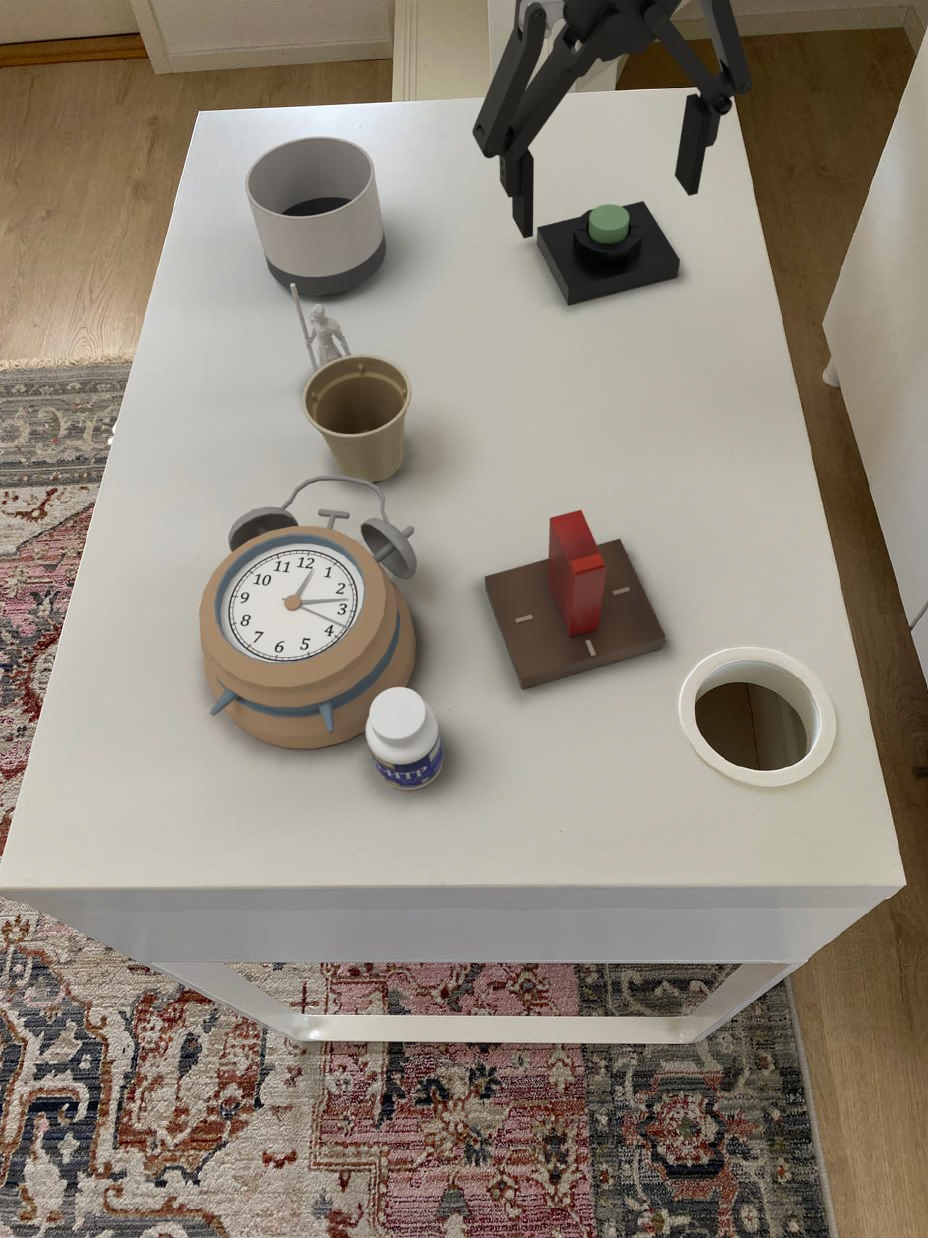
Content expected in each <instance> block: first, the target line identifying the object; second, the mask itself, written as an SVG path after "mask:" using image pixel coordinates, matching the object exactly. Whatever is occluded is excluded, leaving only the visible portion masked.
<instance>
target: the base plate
mask: <svg viewBox="0 0 928 1238" xmlns="http://www.w3.org/2000/svg"><path fill="white" fill-rule="evenodd" d="M597 547H598V549H599V551H600V554H601V556H602V558H603V561H604V563H605V565H606V567H607V568H606V576H605V584H604V592H603V599H602V607H601V615H600V623H599V629H597V630H593V631H590V632H586V633H583V634H579V635H576V636H572V637H569V635H568V633H567V630H566V627H565V625H564V622H563V620H562V617H561V615H560V612H559V610H558V607H557V605H556V602H555V599H554V597H553V594H552V592H551V589H550V587H549V584H548V560H549V558H546V559H541V560H538V561H535V562H532V563H527V564H523V565H521V566H520V565H519V566H517V567H513V568H509V569H506V570H503V571H499V572H496V573H492V574H489V575H485V576H484V586H485V587H484V588H485V592H486V594H487V597H488V600H489V602H490V606H491V608H492V611H493V615H494V617H495V619H496V623H497V625H498V627H499V630H500V634H501V636H502V639H503V641H504V644H505V647H506V650H507V653H508V655H509V658H510V661H511V664H512V667H513V669H514V672H515V674H516V677H517V680H518V683H519V686H520V688H521V690H524V689H529V688H531V687H534V686H540V685H542V684H545V683H548V682H552V681H555V680H559V679H562V678H567V677H569V676H572V675H576V674H579V673H582V672H583V673H584V672H586V671H590V670H594V669H596V668H599V667H604V666H607V665H609V664H613V663H617V662H620V661H623V660H627V659H630V658H634V657H637V656H641V655H644V654H647V653H648V654H649V653H651V652H655V651H658V650H662V649H663V648H664V644H665V640H666V635H665V632H664V630H663V628H662V626H661V624H660V622H659V620H658V618H657V615H656V612H655V611H654V609H653V606H652V604H651V601H650V599H649V597H648V596H647V593H646V591H645V588H644V587H643V584H642V582H641V580H640V578H639V576H638V575H637V572H636V570H635V568H634V566H633V563H632V561H631V559H630V557H629V555H628V552H627V551H626V548H625V545H624V544H623V542H622V540H621V538H617V539H613V540H609V541H605V542H603V543H599V544H597Z"/></svg>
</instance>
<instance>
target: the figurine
mask: <svg viewBox="0 0 928 1238" xmlns="http://www.w3.org/2000/svg"><path fill="white" fill-rule="evenodd" d="M290 288H291V289H290V291H291V295H292V298H293V302H294V304H295V309H296V311H297V315H298V319H299V321H300V322H299V323H300V327H301V330H302V333H303V337H304V340H305V341H304V344H305V347H306V348H307V352H308V355H309V359H310V362H311V365H312V371H313V374H314V373H315V372H316V371H317V370H319V367H318V365H317V362H316V358H315V355H314V350H313V347H312V343H313V342H314V340H315V339H316V337H317V344H318V349H317V355H318V361H319V366H320V368H321V367H322V366H324V365H325V364H327V363H329V362H331V361H333V360H336V359H338V358H341V357H345V356H350V355H353V354H352V353H351V351H350V348H349V344H348V342H346V339H345V338H346V336H345V335H343V334H344V333H343V330H341V326H340V324H339V322H338V321H337V320H336V319H335V318H333V317H331V318H330V317H328V316H326V315H325V314H326V308H325V307H324V305H323V304H321V303H317V304H315V305H314V306H312V308H311V311H312V312H311V314H308V315H307V317H308V320H309V322H310V324H311V325H312V326H313V328H312V331H311V334H310V335H309V332H308V328H307V324H306V321H305V316H304V313H303V309H302V306H301V301H300V296H299V292H297V289H296V286H295V284H294V283H292V284H290ZM333 336H334V337H335V338H336V339H337V340H338V342H340V346H341V348H342V350H343V351H344V354H345V355H344V356H343V354H342V353H341V351H340V349H339V348H338V346H337V345H336V343H335V342H334V338H333Z"/></svg>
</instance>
